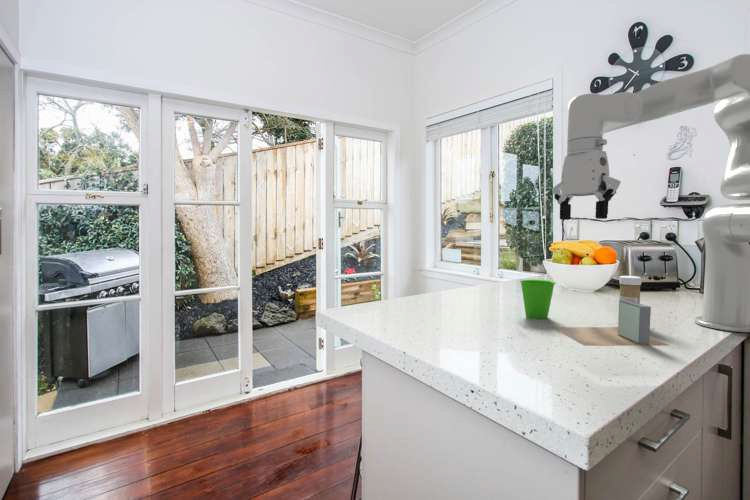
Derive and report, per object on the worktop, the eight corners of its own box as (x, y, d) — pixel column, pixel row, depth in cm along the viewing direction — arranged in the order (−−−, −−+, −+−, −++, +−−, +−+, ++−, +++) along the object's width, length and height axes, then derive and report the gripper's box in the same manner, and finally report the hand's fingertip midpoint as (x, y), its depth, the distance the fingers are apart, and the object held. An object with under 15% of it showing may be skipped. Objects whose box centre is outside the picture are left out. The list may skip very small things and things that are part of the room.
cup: (550, 327, 96) (551, 285, 95) (514, 321, 101) (515, 282, 101) (557, 320, 103) (558, 281, 102) (524, 315, 108) (524, 278, 108)
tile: (626, 334, 85) (627, 300, 84) (649, 344, 78) (650, 306, 77) (617, 334, 85) (618, 300, 84) (639, 344, 78) (640, 306, 77)
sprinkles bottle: (642, 329, 93) (644, 276, 93) (634, 332, 91) (636, 278, 90) (622, 325, 97) (624, 274, 96) (614, 328, 95) (616, 276, 94)
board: (624, 332, 91) (624, 327, 91) (669, 350, 77) (670, 345, 77) (551, 332, 91) (552, 327, 91) (583, 350, 77) (584, 345, 77)
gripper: (631, 142, 83) (628, 218, 84) (564, 156, 99) (562, 220, 100) (609, 139, 80) (606, 218, 81) (544, 154, 96) (542, 219, 97)
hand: (582, 219), depth 91 cm, fingers open, 9 cm apart
